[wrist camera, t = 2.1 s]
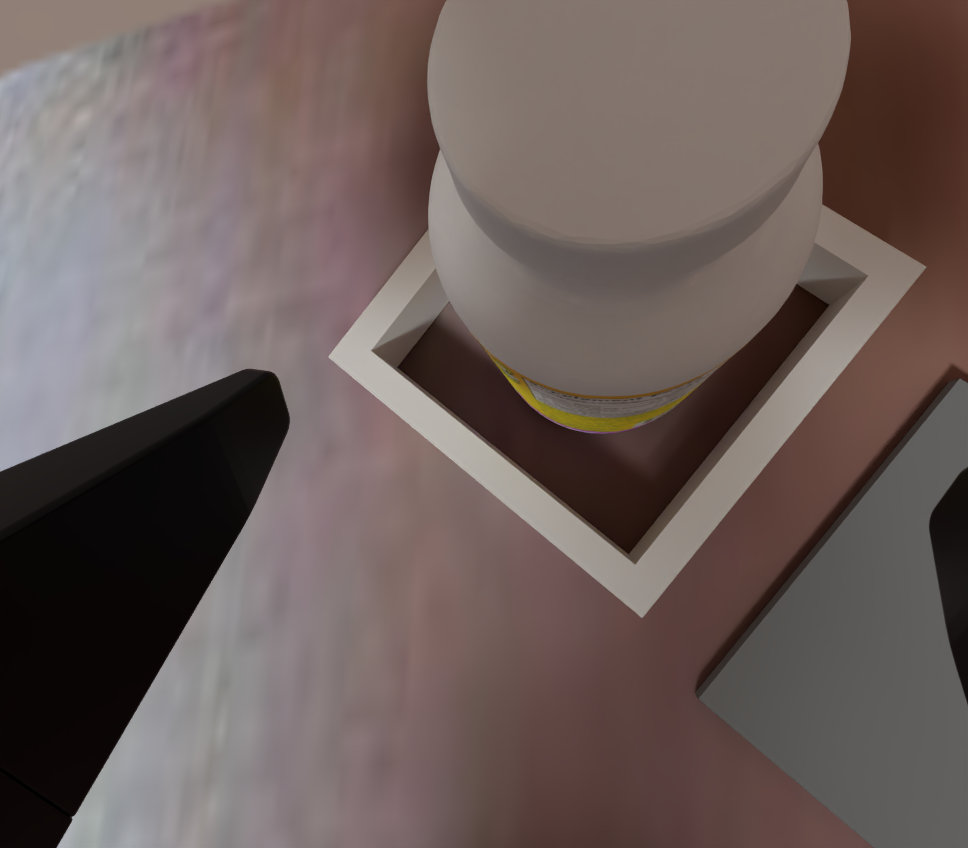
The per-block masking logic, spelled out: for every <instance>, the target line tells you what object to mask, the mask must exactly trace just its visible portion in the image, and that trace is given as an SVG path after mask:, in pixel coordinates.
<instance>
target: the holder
mask: <svg viewBox="0 0 968 848" xmlns="http://www.w3.org/2000/svg"><path fill="white" fill-rule="evenodd" d="M925 268H926V266H924V265H923V264H921V263H919V262H917V261H916V260H914V259H912V258H911V257H909V256H907V255H906V254H904V253H902V252H901V251H899V250H897V249H896V248H894V247H892V246H891V245H889V244H887V243H886V242H884V241H882V240H881V239H879V238H877V237H876V236H874V235H872V234H871V233H869V232H867V231H866V230H864V229H862V228H861V227H859V226H857V225H856V224H854V223H852V222H851V221H849V220H847V219H846V218H844V217H842V216H841V215H839V214H837V213H836V212H834V211H832V210H831V209H829V208H827V207H826V206H824V205H822V209H821V216H820V221H819V226H818V231H817V234H816V238H815V241H814V245H813V248H812V251H811V253H810V256H809V258H808V261H807V263H806V265H805V268H804V270H803V272H802V275H801V277H800V279H799V280H798V282H797V285H799V286H800V287H802V288H804V289H805V290H807V291H808V292H810V293H811V294H813V295H815V296H816V297H818V298H819V299H821V300H822V301H824V302H825V303H827V304H829V306H828V308H827V309H826V310H825V311H824V313H823V314H822V315H821V316H820V318H819V319H818V320H817V321H816V323H815V324H814V325H813V326H812V327H811V329H810V330H809V331H808V332H807V334H806V335H805V336H804V337H803V339H802V340H801V341H800V342H799V344H798V345H797V346H796V347H795V349H794V350H793V351H792V352H791V354H790V355H789V356H788V357H787V358H786V360H785V361H784V362H783V363H782V365H781V366H780V367H779V368H778V370H777V371H776V372H775V373H774V375H773V376H772V377H771V378H770V380H769V381H768V382H767V383H766V385H765V386H764V387H763V388H762V389H761V391H760V392H759V393H758V394H757V396H756V397H755V398H754V399H753V401H752V402H751V403H750V404H749V406H748V407H747V408H746V409H745V411H744V412H743V413H742V414H741V416H740V417H739V418H738V419H737V420H736V422H735V423H734V424H733V425H732V427H731V428H730V429H729V430H728V432H727V433H726V434H725V435H724V437H723V438H722V439H721V440H720V442H719V443H718V444H717V445H716V447H715V448H714V449H713V450H712V451H711V453H710V454H709V455H708V456H707V458H706V459H705V460H704V461H703V463H702V464H701V465H700V466H699V468H698V469H697V470H696V471H695V473H694V474H693V475H692V476H691V478H690V479H689V480H688V481H687V482H686V484H685V485H684V486H683V487H682V489H681V490H680V491H679V492H678V494H677V495H676V496H675V497H674V499H673V500H672V501H671V502H670V504H669V505H668V506H667V507H666V509H665V510H664V511H663V512H662V513H661V515H660V516H659V517H658V518H657V520H656V521H655V522H654V523H653V525H652V526H651V527H650V528H649V530H648V531H647V532H646V533H645V535H644V536H643V537H642V538H641V540H640V541H639V542H638V543H637V544H636V546H635V547H634V548H633V549H632V551H631V552H630V553H629V554H628V553H626V552H625V551H624V550H623V549H621V548H620V547H619V546H618V545H616V544H615V543H614V542H613V541H611V540H610V539H609V538H608V537H607V536H605V535H604V534H603V533H602V532H600V531H599V530H598V529H597V528H595V527H594V526H593V525H592V524H590V523H589V522H588V521H587V520H585V519H584V518H583V517H582V516H581V515H579V514H578V513H577V512H576V511H574V510H573V509H572V508H571V507H569V506H568V505H567V504H566V503H564V502H563V501H562V500H561V499H559V498H558V497H557V496H556V495H555V494H553V493H552V492H551V491H550V490H548V489H547V488H546V487H545V486H543V485H542V484H541V483H540V482H538V481H537V480H536V479H535V478H533V477H532V476H531V475H530V474H529V473H527V472H526V471H525V470H524V469H522V468H521V467H520V466H519V465H517V464H516V463H515V462H514V461H512V460H511V459H510V458H509V457H507V456H506V455H505V454H504V453H503V452H501V451H500V450H499V449H498V448H496V447H495V446H494V445H493V444H491V443H490V442H489V441H488V440H486V439H485V438H484V437H483V436H481V435H480V434H479V433H478V432H477V431H475V430H474V429H473V428H472V427H470V426H469V425H468V424H467V423H465V422H464V421H463V420H462V419H460V418H459V417H458V416H457V415H455V414H454V413H453V412H452V411H451V410H449V409H448V408H447V407H446V406H444V405H443V404H442V403H441V402H439V401H438V400H437V399H436V398H434V397H433V396H432V395H431V394H429V393H428V392H427V391H426V390H425V389H423V388H422V387H421V386H420V385H418V384H417V383H416V382H415V381H413V380H412V379H411V378H410V377H408V376H407V375H406V374H405V373H403V372H402V371H401V370H400V369H399V368H397V367H398V366H399V365H400V363H401V362H402V361H403V359H404V358H405V357H406V356H407V354H408V353H409V352H410V351H411V349H412V348H413V347H414V345H415V344H416V343H417V342H418V340H419V339H420V338H421V337H422V335H423V334H424V333H425V331H426V330H427V329H428V328H429V326H430V325H431V324H432V323H433V321H434V320H435V319H436V317H437V316H438V315H439V314H440V312H441V311H442V310H443V309H444V307H445V306H446V305H447V303H448V302H449V299H448V297H447V295H446V293H445V291H444V289H443V287H442V284H441V281H440V279H439V276H438V273H437V271H436V267H435V264H434V260H433V255H432V251H431V245H430V239H429V229H428V230H427V231H426V233H425V234H424V235H423V236H422V238H421V239H420V240H419V242H418V243H417V244H416V245H415V247H414V248H413V249H412V250H411V252H410V253H409V254H408V256H407V257H406V258H405V259H404V261H403V262H402V263H401V265H400V266H399V267H398V268H397V270H396V271H395V272H394V274H393V275H392V276H391V277H390V279H389V280H388V281H387V282H386V284H385V285H384V286H383V288H382V289H381V290H380V291H379V293H378V294H377V295H376V297H375V298H374V299H373V300H372V302H371V303H370V304H369V305H368V307H367V308H366V309H365V311H364V312H363V313H362V314H361V316H360V317H359V318H358V320H357V321H356V322H355V323H354V325H353V326H352V327H351V329H350V330H349V331H348V332H347V334H346V335H345V336H344V337H343V339H342V340H341V341H340V343H339V344H338V345H337V346H336V348H335V349H334V350H333V352H332V353H331V354H330V355H329V358H330V359H331V360H332V361H334V362H335V363H336V364H337V365H338V366H340V367H341V368H342V369H343V370H344V371H346V372H347V373H348V374H349V375H350V376H352V377H353V378H354V379H355V380H356V381H358V382H359V383H360V384H361V385H362V386H364V387H365V388H366V389H367V390H368V391H370V392H371V393H372V394H373V395H374V396H376V397H377V398H378V399H379V400H380V401H382V402H383V403H384V404H385V405H386V406H388V407H389V408H390V409H391V410H392V411H394V412H395V413H396V414H397V415H399V416H400V417H401V418H402V419H403V420H405V421H406V422H407V423H408V424H409V425H411V426H412V427H413V428H414V429H415V430H417V431H418V432H419V433H420V434H421V435H423V436H424V437H425V438H426V439H427V440H429V441H430V442H431V443H432V444H433V445H435V446H436V447H437V448H438V449H439V450H441V451H442V452H443V453H444V454H445V455H447V456H448V457H449V458H450V459H451V460H453V461H454V462H455V463H456V464H457V465H459V466H460V467H461V468H462V469H463V470H465V471H466V472H467V473H468V474H469V475H471V476H472V477H473V478H474V479H476V480H477V481H478V482H479V483H480V484H482V485H483V486H484V487H485V488H486V489H488V490H489V491H490V492H491V493H492V494H494V495H495V496H496V497H497V498H498V499H500V500H501V501H502V502H503V503H504V504H506V505H507V506H508V507H509V508H510V509H512V510H513V511H514V512H515V513H516V514H518V515H519V516H520V517H521V518H522V519H524V520H525V521H526V522H527V523H528V524H530V525H531V526H532V527H533V528H534V529H536V530H537V531H538V532H539V533H540V534H542V535H543V536H544V537H545V538H546V539H548V540H549V541H550V542H551V543H552V544H554V545H555V546H556V547H557V548H559V549H560V550H561V551H562V552H563V553H565V554H566V555H567V556H568V557H569V558H571V559H572V560H573V561H574V562H575V563H577V564H578V565H579V566H580V567H581V568H583V569H584V570H585V571H586V572H587V573H589V574H590V575H591V576H592V577H593V578H595V579H596V580H597V581H598V582H599V583H601V584H602V585H603V586H604V587H605V588H607V589H608V590H609V591H610V592H611V593H613V594H614V595H615V596H616V597H617V598H619V599H620V600H621V601H622V602H623V603H625V604H626V605H627V606H628V607H629V608H631V609H632V610H633V611H634V612H636V613H637V614H638V615H639V616H640V617H642V618H643V617H644V615H645V614H646V613H647V612H648V610H649V609H650V608H651V607H652V606H653V604H654V603H655V602H656V601H657V599H658V598H659V597H660V596H661V594H662V593H663V592H664V591H665V589H666V588H667V587H668V586H669V585H670V583H671V582H672V581H673V580H674V578H675V577H676V576H677V575H678V573H679V572H680V571H681V570H682V568H683V567H684V566H685V565H686V564H687V562H688V561H689V560H690V559H691V557H692V556H693V555H694V554H695V552H696V551H697V550H698V549H699V547H700V546H701V545H702V544H703V543H704V541H705V540H706V539H707V538H708V536H709V535H710V534H711V533H712V531H713V530H714V529H715V528H716V527H717V525H718V524H719V523H720V522H721V520H722V519H723V518H724V517H725V515H726V514H727V513H728V512H729V510H730V509H731V508H732V507H733V506H734V504H735V503H736V502H737V501H738V499H739V498H740V497H741V496H742V494H743V493H744V492H745V491H746V489H747V488H748V487H749V486H750V485H751V483H752V482H753V481H754V480H755V478H756V477H757V476H758V475H759V473H760V472H761V471H762V470H763V468H764V467H765V466H766V465H767V464H768V462H769V461H770V460H771V459H772V457H773V456H774V455H775V454H776V452H777V451H778V450H779V449H780V447H781V446H782V445H783V444H784V443H785V441H786V440H787V439H788V438H789V436H790V435H791V434H792V433H793V431H794V430H795V429H796V428H797V426H798V425H799V424H800V423H801V422H802V420H803V419H804V418H805V417H806V415H807V414H808V413H809V412H810V410H811V409H812V408H813V407H814V406H815V404H816V403H817V402H818V401H819V399H820V398H821V397H822V396H823V394H824V393H825V392H826V391H827V389H828V388H829V387H830V386H831V385H832V383H833V382H834V381H835V380H836V378H837V377H838V376H839V375H840V373H841V372H842V371H843V370H844V368H845V367H846V366H847V365H848V364H849V362H850V361H851V360H852V359H853V357H854V356H855V355H856V354H857V352H858V351H859V350H860V349H861V347H862V346H863V345H864V344H865V343H866V341H867V340H868V339H869V338H870V336H871V335H872V334H873V333H874V331H875V330H876V329H877V328H878V326H879V325H880V324H881V323H882V322H883V320H884V319H885V318H886V317H887V315H888V314H889V313H890V312H891V310H892V309H893V308H894V307H895V305H896V304H897V303H898V302H899V301H900V299H901V298H902V297H903V296H904V294H905V293H906V292H907V291H908V289H909V288H910V287H911V286H912V285H913V283H914V282H915V281H916V280H917V278H918V277H919V276H920V275H921V273H922V272H923V271H924V270H925Z"/></svg>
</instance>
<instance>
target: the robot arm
mask: <svg viewBox="0 0 968 848" xmlns="http://www.w3.org/2000/svg"><path fill="white" fill-rule="evenodd" d="M289 424H290V416H289V412H288V408H287V405H286V402H285V399H284V395H283V392H282V389H281V385H280V382H279V379H278V377H277V376H276V375H275V374H274V373H272V372H270V371H264V370H256V369H245V370H242V371H239V372H237V373H235V374H232V375H230V376H228V377H225V378H223V379H220V380H218V381H216V382H213V383H211V384H208V385H206V386H204V387H201V388H199V389H197V390H194V391H192V392H189V393H187V394H185V395H182V396H180V397H177V398H175V399H173V400H170V401H168V402H165V403H163V404H161V405H158V406H156V407H154V408H151V409H149V410H146V411H144V412H142V413H139V414H137V415H134V416H132V417H130V418H127V419H125V420H123V421H120V422H118V423H115V424H113V425H111V426H108V427H106V428H103V429H101V430H99V431H96V432H94V433H91V434H89V435H87V436H84V437H82V438H80V439H77V440H75V441H72V442H70V443H68V444H65V445H63V446H60V447H58V448H56V449H53V450H51V451H49V452H46V453H44V454H41V455H39V456H37V457H34V458H32V459H29V460H27V461H25V462H22V463H20V464H17V465H15V466H13V467H10V468H8V469H6V470H3V471H1V472H0V848H57V846H58V844H59V843H60V841H61V839H62V837H63V836H64V834H65V832H66V831H67V829H68V827H69V825H70V824H71V822H72V817H73V816H74V815H75V814H76V813H77V811H78V809H79V807H80V806H81V804H82V802H83V801H84V799H85V797H86V795H87V794H88V792H89V790H90V789H91V787H92V785H93V784H94V782H95V780H96V778H97V777H98V775H99V773H100V772H101V770H102V768H103V766H104V765H105V763H106V761H107V760H108V758H109V756H110V754H111V753H112V751H113V749H114V748H115V746H116V744H117V742H118V741H119V739H120V737H121V736H122V734H123V732H124V730H125V729H126V727H127V725H128V724H129V722H130V720H131V718H132V717H133V715H134V713H135V712H136V710H137V708H138V706H139V705H140V703H141V701H142V700H143V698H144V696H145V694H146V693H147V691H148V689H149V688H150V686H151V684H152V682H153V681H154V679H155V677H156V676H157V674H158V672H159V670H160V669H161V667H162V665H163V664H164V662H165V660H166V659H167V657H168V655H169V653H170V652H171V650H172V648H173V647H174V645H175V643H176V641H177V640H178V638H179V636H180V635H181V633H182V631H183V629H184V628H185V626H186V624H187V623H188V621H189V619H190V617H191V616H192V614H193V612H194V611H195V609H196V607H197V605H198V604H199V602H200V600H201V599H202V597H203V595H204V593H205V592H206V590H207V588H208V587H209V585H210V583H211V581H212V580H213V578H214V576H215V575H216V573H217V571H218V569H219V568H220V566H221V564H222V563H223V561H224V559H225V557H226V556H227V554H228V552H229V551H230V549H231V547H232V545H233V544H234V542H235V540H236V539H237V537H238V535H239V533H240V532H241V530H242V528H243V527H244V525H245V523H246V521H247V519H248V517H249V516H250V514H251V512H252V510H253V508H254V506H255V504H256V501H257V499H258V497H259V495H260V493H261V490H262V488H263V486H264V484H265V481H266V479H267V477H268V475H269V472H270V470H271V468H272V466H273V463H274V461H275V459H276V457H277V455H278V452H279V450H280V448H281V446H282V443H283V441H284V439H285V437H286V434H287V432H288V429H289ZM929 533H930V539H931V545H932V551H933V556H934V562H935V568H936V574H937V579H938V585H939V591H940V596H941V602H942V608H943V614H944V619H945V625H946V630H947V634H948V639H949V644H950V647H951V651H952V655H953V658H954V662H955V666H956V669H957V672H958V675H959V679H960V682H961V685H962V688H963V692H964V695H965V698H966V701H967V705H968V467H967V468H965V469H963V470H962V471H961V472H960V473H959V475H958V476H957V477H956V479H955V480H954V481H953V483H952V484H951V486H950V487H949V488H948V490H947V491H946V492H945V494H944V495H943V497H942V498H941V499H940V501H939V502H938V503H937V505H936V506H935V508H934V509H933V511H932V513H931V516H930V520H929Z"/></svg>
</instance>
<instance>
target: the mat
mask: <svg viewBox="0 0 968 848" xmlns="http://www.w3.org/2000/svg"><path fill="white" fill-rule="evenodd" d="M967 467H968V383H967V382H965V381H963V380H962V379H960V378H959V379H956V380H953V381H949V382H948V384H947V385H946V386H945V387H944V388H943V390H942V391H941V392H940V393H939V395H938V396H937V397H936V398H935V399H934V401H933V402H932V403H931V404H930V406H929V407H928V408H927V409H926V411H925V412H924V413H923V414H922V415H921V417H920V418H919V419H918V420H917V422H916V423H915V424H914V425H913V426H912V428H911V429H910V430H909V431H908V433H907V434H906V435H905V436H904V437H903V439H902V440H901V441H900V442H899V444H898V445H897V446H896V447H895V449H894V450H893V451H892V452H891V453H890V455H889V456H888V457H887V458H886V460H885V461H884V462H883V463H882V464H881V466H880V467H879V468H878V469H877V471H876V472H875V473H874V474H873V475H872V477H871V478H870V479H869V480H868V482H867V483H866V484H865V485H864V486H863V488H862V489H861V490H860V491H859V493H858V494H857V495H856V496H855V498H854V499H853V500H852V501H851V502H850V504H849V505H848V506H847V507H846V509H845V510H844V511H843V512H842V513H841V515H840V516H839V517H838V518H837V520H836V521H835V522H834V523H833V524H832V526H831V527H830V528H829V529H828V531H827V532H826V533H825V534H824V536H823V537H822V538H821V539H820V540H819V542H818V543H817V544H816V545H815V547H814V548H813V549H812V550H811V551H810V553H809V554H808V555H807V556H806V558H805V559H804V560H803V561H802V562H801V564H800V565H799V566H798V567H797V569H796V570H795V571H794V572H793V573H792V575H791V576H790V577H789V578H788V580H787V581H786V582H785V583H784V585H783V586H782V587H781V588H780V589H779V591H778V592H777V593H776V594H775V596H774V597H773V598H772V599H771V600H770V602H769V603H768V604H767V605H766V607H765V608H764V609H763V610H762V611H761V613H760V614H759V615H758V616H757V618H756V619H755V620H754V621H753V623H752V624H751V625H750V626H749V627H748V629H747V630H746V631H745V632H744V634H743V635H742V636H741V637H740V638H739V640H738V641H737V642H736V643H735V645H734V646H733V647H732V648H731V649H730V651H729V652H728V653H727V654H726V656H725V657H724V658H723V659H722V660H721V662H720V663H719V664H718V665H717V667H716V668H715V669H714V670H713V672H712V673H711V674H710V675H709V676H708V678H707V679H706V680H705V681H704V683H703V684H702V685H701V686H700V687H699V689H698V690H697V691H696V692H695V694H696V696H697V698H698V699H699V700H700V701H701V702H702V703H704V704H705V705H706V706H707V707H708V708H710V709H711V710H712V711H713V712H714V713H715V714H717V715H718V716H719V717H720V718H721V719H723V720H724V721H725V722H726V723H727V724H728V725H730V726H731V727H732V728H733V729H734V730H736V731H737V732H738V733H739V734H740V735H741V736H743V737H744V738H745V739H746V740H747V741H749V742H750V743H751V744H752V745H753V746H754V747H756V748H757V749H758V750H759V751H760V752H762V753H763V754H764V755H765V756H766V757H767V758H769V759H770V760H771V761H772V762H773V763H775V764H776V765H777V766H778V767H779V768H780V769H782V770H783V771H784V772H785V773H786V774H788V775H789V776H790V777H791V778H792V779H793V780H795V781H796V782H797V783H798V784H799V785H801V786H802V787H803V788H804V789H805V790H806V791H808V792H809V793H810V794H811V795H812V796H814V797H815V798H816V799H817V800H818V801H819V802H821V803H822V804H823V805H824V806H825V807H827V808H828V809H829V810H830V811H831V812H832V813H834V814H835V815H836V816H837V817H838V818H840V819H841V820H842V821H843V822H844V823H845V824H847V825H848V826H849V827H850V828H851V829H853V830H854V831H855V832H856V833H857V834H858V835H860V836H861V837H862V838H863V839H864V840H866V841H867V842H868V843H869V844H870V845H871V846H873V847H874V848H968V705H967V701H966V698H965V695H964V692H963V688H962V685H961V682H960V679H959V675H958V672H957V669H956V666H955V662H954V658H953V655H952V651H951V647H950V644H949V639H948V634H947V630H946V625H945V619H944V614H943V608H942V602H941V596H940V591H939V585H938V579H937V574H936V568H935V562H934V556H933V551H932V545H931V539H930V533H929V520H930V516H931V513H932V511H933V509H934V508H935V506H936V505H937V503H938V502H939V501H940V499H941V498H942V497H943V495H944V494H945V492H946V491H947V490H948V488H949V487H950V486H951V484H952V483H953V481H954V480H955V479H956V477H957V476H958V475H959V473H960V472H961V471H962V470H963V469H965V468H967Z"/></svg>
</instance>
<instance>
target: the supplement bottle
mask: <svg viewBox="0 0 968 848" xmlns="http://www.w3.org/2000/svg"><path fill="white" fill-rule="evenodd" d="M850 44H851V32H850V21H849V10H848V3H847V0H446V2H445V4H444V7H443V9H442V11H441V13H440V16H439V19H438V22H437V26H436V29H435V32H434V36H433V39H432V43H431V47H430V53H429V61H428V76H427V90H428V102H429V108H430V115H431V121H432V125H433V129H434V133H435V136H436V139H437V141H438V144H439V147H440V151H439V154H438V157H437V160H436V164H435V168H434V172H433V176H432V180H431V187H430V193H429V206H428V226H429V239H430V245H431V251H432V255H433V260H434V264H435V267H436V271H437V273H438V276H439V279H440V281H441V284H442V287H443V289H444V291H445V293H446V295H447V297H448V299H449V301H450V303H451V305H452V306H453V308H454V309H455V311H456V313H457V314H458V316H459V317H460V319H461V320H462V321H463V323H464V324H465V326H466V327H467V329H468V330H469V331H470V333H471V334H472V335H473V336H474V338H475V339H476V340H477V341H478V342H479V343H480V345H481V346H482V347H483V349H484V350H485V351H486V352H487V354H488V355H489V356H490V357H491V359H492V360H493V361H494V363H495V364H496V365H497V366H498V368H499V369H500V370H501V371H502V373H503V374H504V375H505V377H506V378H507V379H508V381H509V382H510V383H511V385H512V386H513V387H514V389H515V390H516V391H517V392H518V393H519V394H520V396H521V397H522V398H523V399H524V400H525V401H526V402H527V403H528V404H529V405H530V406H531V407H532V408H533V409H535V410H536V411H537V412H538V413H540V414H541V415H542V416H544V417H546V418H547V419H549V420H550V421H552V422H554V423H556V424H558V425H561V426H563V427H566V428H569V429H572V430H576V431H581V432H587V433H602V434H606V433H618V432H624V431H628V430H632V429H635V428H638V427H641V426H643V425H646V424H648V423H650V422H652V421H654V420H656V419H658V418H659V417H661V416H663V415H664V414H666V413H667V412H669V411H670V410H672V409H673V408H674V407H675V406H677V405H678V404H679V403H680V402H681V401H682V400H684V399H685V398H686V397H687V396H688V395H689V394H691V393H692V392H693V391H694V390H695V389H696V388H697V387H698V386H699V385H700V384H701V383H703V382H704V381H705V380H706V379H707V378H708V377H709V376H710V375H711V374H712V373H713V372H715V371H716V370H717V369H718V368H719V367H720V366H722V365H723V364H724V363H725V362H726V361H728V360H729V359H730V358H731V357H732V356H733V355H735V354H736V353H737V352H738V351H739V350H740V349H742V348H743V347H744V346H745V345H746V344H747V343H748V342H749V341H750V340H751V339H752V338H753V337H754V336H755V335H756V334H757V333H758V332H759V331H760V330H761V329H762V328H763V327H765V326H766V324H767V323H768V322H769V321H770V320H771V319H772V318H773V317H774V316H775V314H776V313H777V312H778V311H779V309H780V308H781V307H782V305H783V304H784V303H785V301H786V300H787V298H788V297H789V296H790V294H791V292H792V290H793V289H794V287H795V285H796V284H797V282H798V280H799V279H800V277H801V275H802V272H803V270H804V268H805V265H806V263H807V261H808V258H809V256H810V253H811V251H812V248H813V245H814V241H815V238H816V234H817V231H818V226H819V221H820V216H821V209H822V194H823V172H822V162H821V156H820V149H819V145H818V142H819V140H820V139H821V137H822V135H823V133H824V131H825V129H826V127H827V125H828V123H829V121H830V119H831V117H832V114H833V112H834V110H835V107H836V105H837V102H838V100H839V97H840V94H841V91H842V88H843V84H844V80H845V76H846V71H847V65H848V59H849V53H850Z"/></svg>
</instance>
